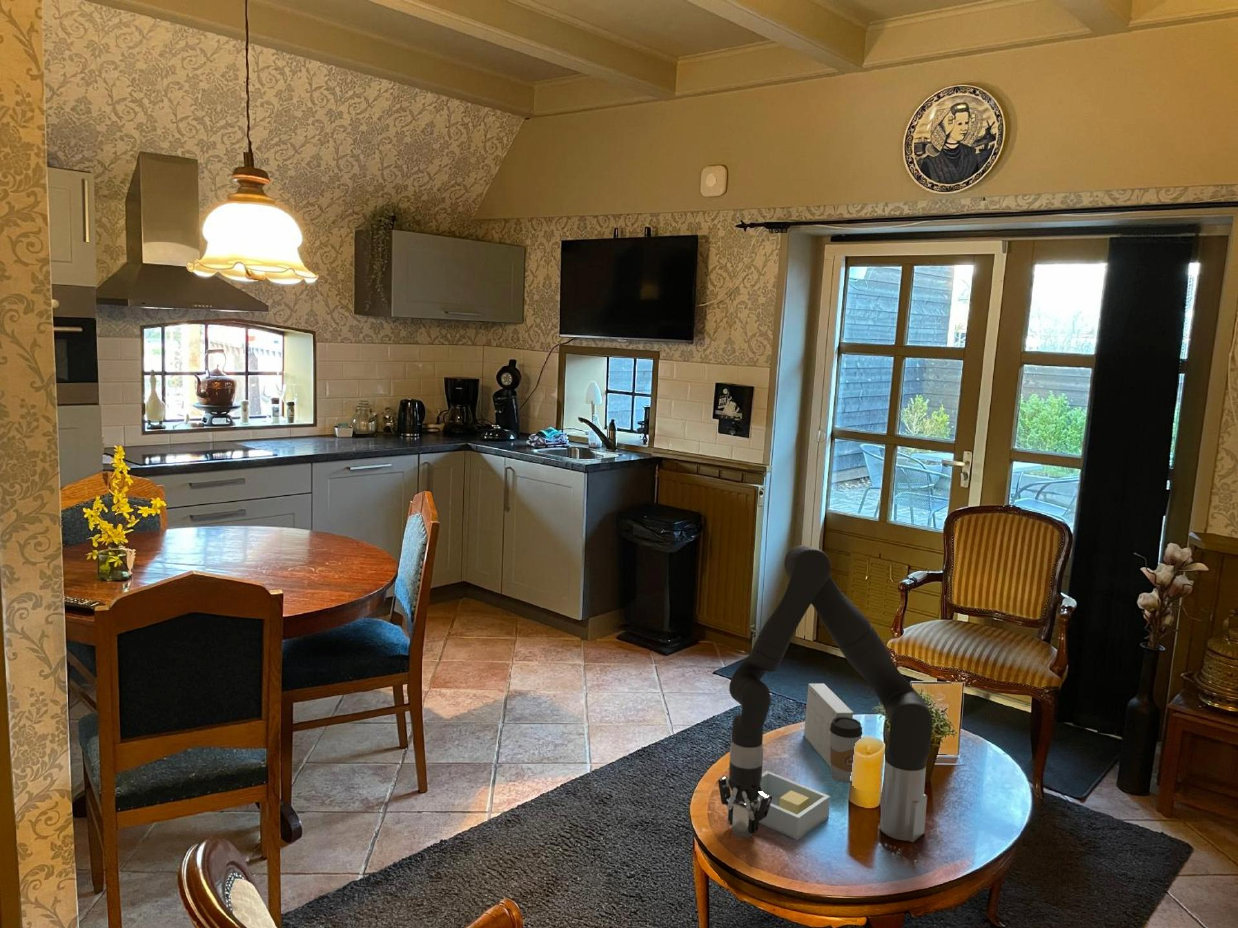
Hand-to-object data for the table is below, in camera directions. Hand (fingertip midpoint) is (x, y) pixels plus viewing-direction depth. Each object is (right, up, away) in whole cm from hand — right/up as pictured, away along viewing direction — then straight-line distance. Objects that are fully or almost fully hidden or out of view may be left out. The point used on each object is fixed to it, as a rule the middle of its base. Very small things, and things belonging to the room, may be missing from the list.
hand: (742, 827), depth 216 cm
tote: (+10, 0, +8) cm, 13 cm away
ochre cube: (+13, 0, +6) cm, 14 cm away
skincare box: (+29, +4, +43) cm, 52 cm away
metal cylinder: (0, -1, 0) cm, 1 cm away
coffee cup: (+30, +2, +28) cm, 41 cm away
